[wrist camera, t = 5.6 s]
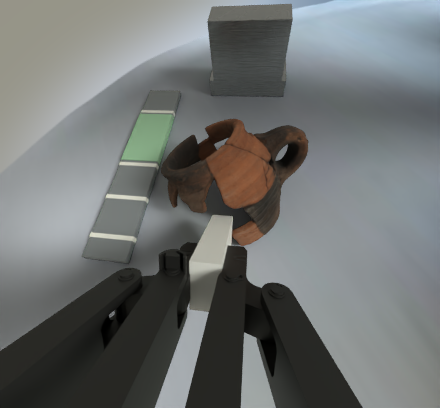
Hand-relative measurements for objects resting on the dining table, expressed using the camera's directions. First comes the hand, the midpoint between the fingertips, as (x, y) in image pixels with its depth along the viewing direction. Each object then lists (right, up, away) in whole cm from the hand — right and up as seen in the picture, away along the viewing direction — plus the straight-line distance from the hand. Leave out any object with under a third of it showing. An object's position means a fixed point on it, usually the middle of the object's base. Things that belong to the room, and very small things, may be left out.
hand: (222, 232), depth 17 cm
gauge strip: (-9, +7, +8) cm, 13 cm away
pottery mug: (+2, +3, +5) cm, 6 cm away
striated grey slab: (+3, +17, +12) cm, 21 cm away
